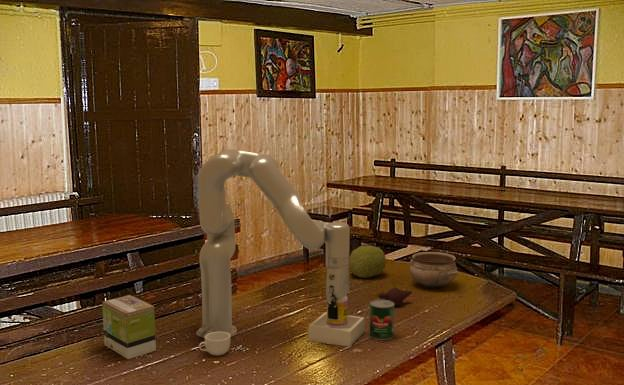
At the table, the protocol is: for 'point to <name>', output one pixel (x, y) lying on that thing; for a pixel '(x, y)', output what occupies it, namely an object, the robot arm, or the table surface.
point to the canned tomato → (381, 319)
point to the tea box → (129, 326)
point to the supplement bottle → (339, 314)
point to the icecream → (395, 295)
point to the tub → (336, 331)
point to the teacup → (216, 343)
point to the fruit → (367, 261)
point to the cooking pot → (433, 269)
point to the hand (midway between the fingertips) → (337, 314)
